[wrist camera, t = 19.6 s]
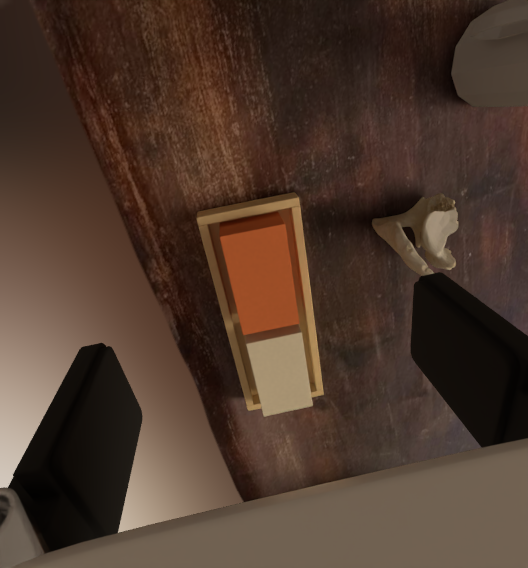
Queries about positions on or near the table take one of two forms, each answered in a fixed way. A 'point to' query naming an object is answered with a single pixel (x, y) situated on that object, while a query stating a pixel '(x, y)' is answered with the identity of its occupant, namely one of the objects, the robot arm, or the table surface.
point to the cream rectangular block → (279, 369)
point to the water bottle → (494, 57)
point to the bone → (422, 233)
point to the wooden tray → (214, 253)
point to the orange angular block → (260, 272)
